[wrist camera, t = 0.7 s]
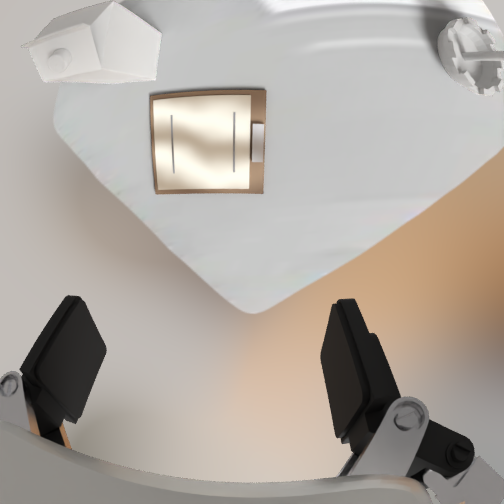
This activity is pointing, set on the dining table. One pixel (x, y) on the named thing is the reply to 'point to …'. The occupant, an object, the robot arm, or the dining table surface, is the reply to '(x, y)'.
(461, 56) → the flag stand
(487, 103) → the dining table surface
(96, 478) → the robot arm
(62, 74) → the milk carton
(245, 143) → the clipboard
